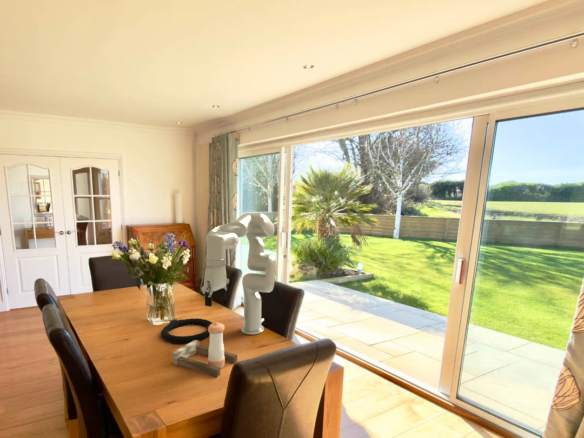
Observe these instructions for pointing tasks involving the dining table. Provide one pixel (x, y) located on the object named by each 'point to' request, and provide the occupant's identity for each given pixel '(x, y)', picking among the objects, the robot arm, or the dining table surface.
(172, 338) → the cable lock
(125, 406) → the dining table surface
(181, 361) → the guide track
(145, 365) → the dining table surface
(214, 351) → the pepper shaker
